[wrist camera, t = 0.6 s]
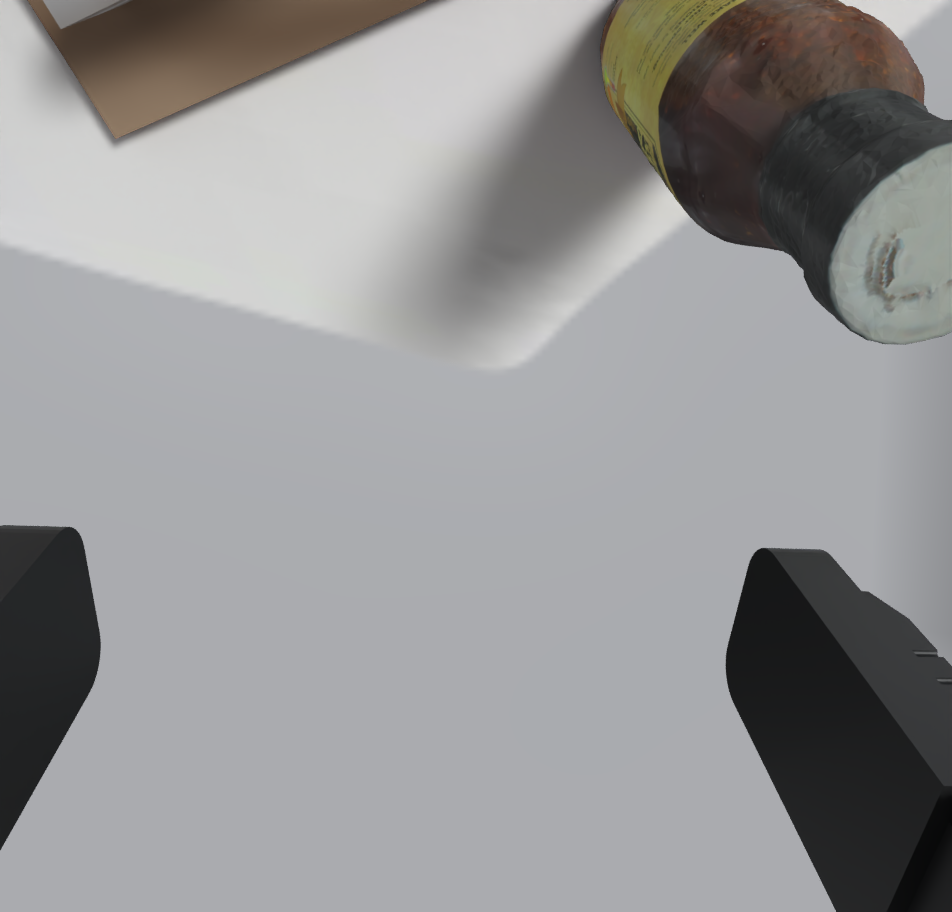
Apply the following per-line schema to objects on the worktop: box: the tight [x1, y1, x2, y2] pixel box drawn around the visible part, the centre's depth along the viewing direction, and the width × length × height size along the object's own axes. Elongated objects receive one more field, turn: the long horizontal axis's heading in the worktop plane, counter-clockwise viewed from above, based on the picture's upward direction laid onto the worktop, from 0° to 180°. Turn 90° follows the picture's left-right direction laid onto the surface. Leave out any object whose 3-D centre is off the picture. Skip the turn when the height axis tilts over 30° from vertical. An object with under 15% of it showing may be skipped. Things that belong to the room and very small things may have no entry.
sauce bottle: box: [600, 0, 952, 344], centre depth 22 cm, size 6×6×20 cm
